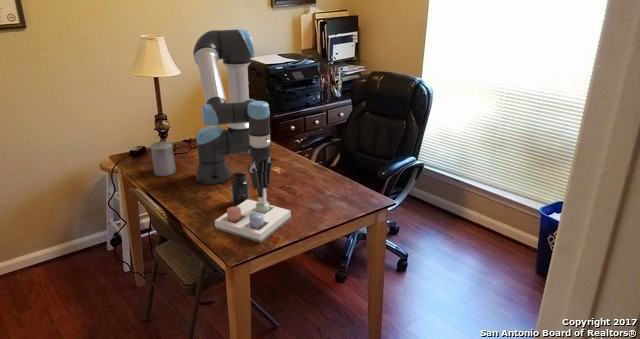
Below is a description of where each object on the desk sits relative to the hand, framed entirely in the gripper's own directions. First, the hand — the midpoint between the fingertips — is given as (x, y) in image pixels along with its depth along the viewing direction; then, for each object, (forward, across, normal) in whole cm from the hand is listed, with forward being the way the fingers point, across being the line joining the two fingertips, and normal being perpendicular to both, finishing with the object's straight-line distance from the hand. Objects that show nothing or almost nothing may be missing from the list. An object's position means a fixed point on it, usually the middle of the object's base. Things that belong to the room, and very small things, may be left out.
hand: (262, 203), depth 176 cm
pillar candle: (+6, +14, +65) cm, 67 cm away
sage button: (+4, 0, 0) cm, 4 cm away
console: (+6, -6, 0) cm, 8 cm away
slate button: (+3, -11, -5) cm, 12 cm away
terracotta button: (+3, -11, +5) cm, 12 cm away
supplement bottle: (+6, +6, +15) cm, 17 cm away
